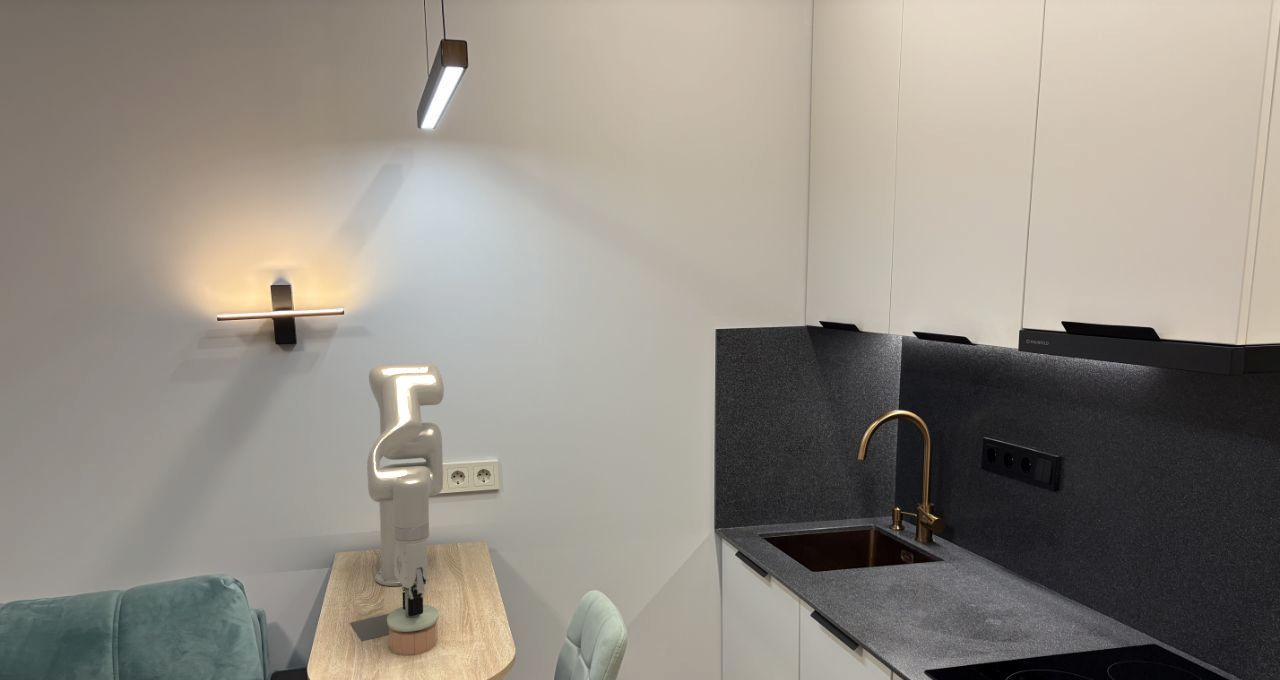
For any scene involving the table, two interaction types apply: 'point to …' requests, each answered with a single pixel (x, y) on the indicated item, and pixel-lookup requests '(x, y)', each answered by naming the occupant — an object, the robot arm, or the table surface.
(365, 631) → the mat
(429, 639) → the bowl
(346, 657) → the table surface
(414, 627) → the lid
